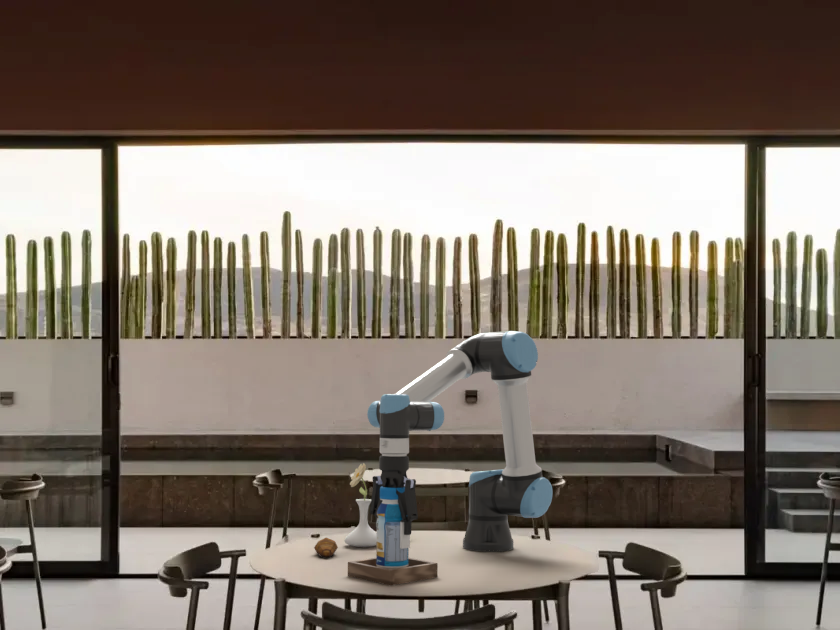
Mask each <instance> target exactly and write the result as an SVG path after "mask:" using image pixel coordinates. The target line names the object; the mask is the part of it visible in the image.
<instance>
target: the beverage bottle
mask: <svg viewBox="0 0 840 630" xmlns="http://www.w3.org/2000/svg"><path fill="white" fill-rule="evenodd" d="M396 489H397V491H398V492H400V493H403V492H405V487H404V488H388V487H383V486H381V487H380V500H383V501H382V503H381V504H380V506H379V508H378V510H377V516H378V520H377V522H376V521H375V529H376V528H377V530H376V533H377V545H376V553H375V554H376V556H375V558H377V559H376V565H377V567H381V568H386V569H397V568H404V567H407V566H408V564H409V561H408V558H409V550H410V549H409V548H403V549H401V548H400V522H401V520H402V516H401V512H400V508H399V505H398V495H397V494H396ZM406 516H407V515H406Z"/></svg>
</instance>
